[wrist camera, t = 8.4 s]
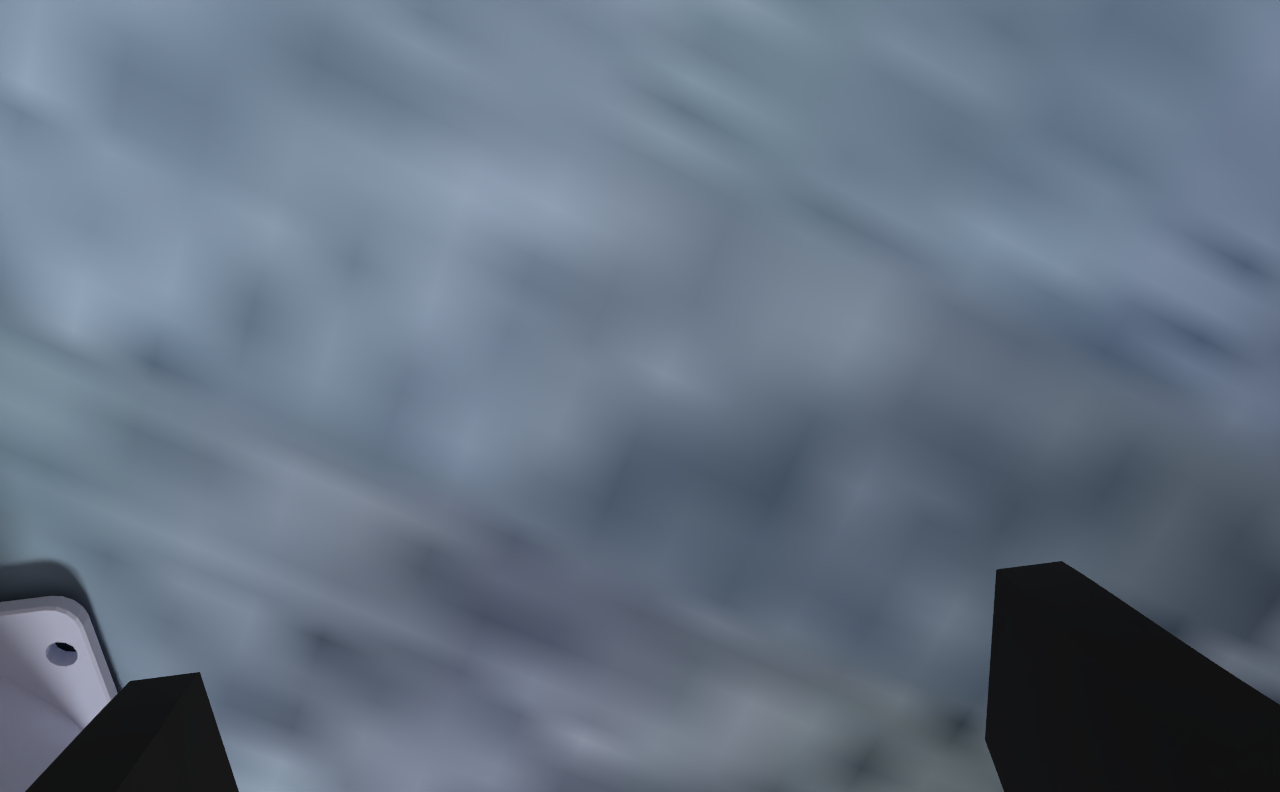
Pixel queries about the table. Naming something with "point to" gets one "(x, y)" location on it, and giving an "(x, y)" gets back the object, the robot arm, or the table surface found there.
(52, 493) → the table surface
